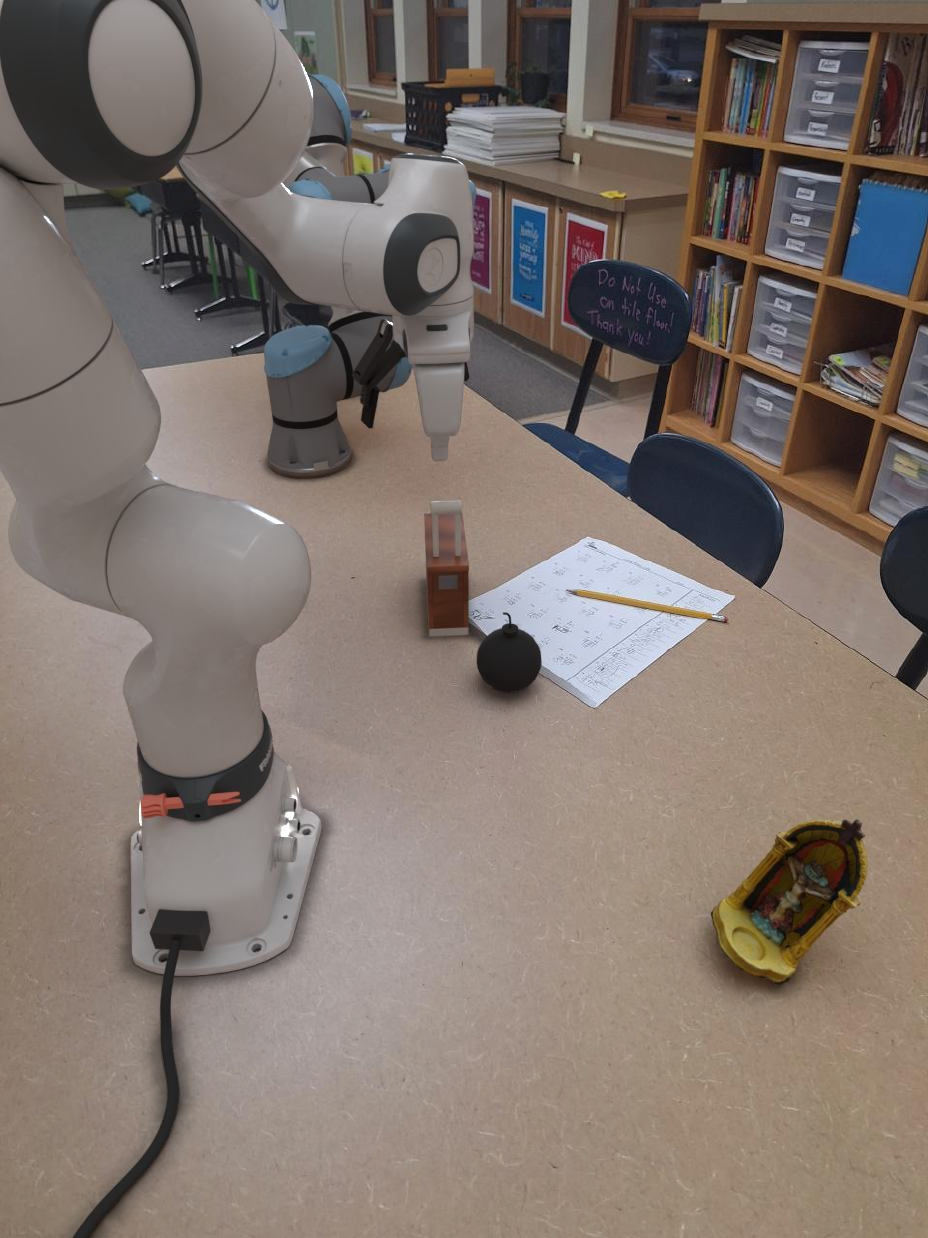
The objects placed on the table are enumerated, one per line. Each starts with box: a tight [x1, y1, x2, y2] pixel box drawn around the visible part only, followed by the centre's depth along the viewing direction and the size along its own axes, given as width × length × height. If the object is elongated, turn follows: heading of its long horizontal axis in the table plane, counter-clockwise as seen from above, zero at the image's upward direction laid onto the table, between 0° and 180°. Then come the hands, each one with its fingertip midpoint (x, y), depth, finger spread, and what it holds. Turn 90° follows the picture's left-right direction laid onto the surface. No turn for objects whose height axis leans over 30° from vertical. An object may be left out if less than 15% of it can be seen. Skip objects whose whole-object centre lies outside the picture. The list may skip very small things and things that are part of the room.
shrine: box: [710, 818, 868, 986], centre depth 72 cm, size 12×8×15 cm
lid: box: [423, 500, 470, 572], centre depth 112 cm, size 14×5×9 cm, turn 4°
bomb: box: [476, 611, 543, 694], centre depth 103 cm, size 8×8×12 cm
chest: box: [424, 522, 470, 638], centre depth 117 cm, size 13×5×10 cm, turn 4°
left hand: (436, 441), depth 101 cm, fingers open, 8 cm apart
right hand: (403, 422), depth 139 cm, fingers open, 13 cm apart
